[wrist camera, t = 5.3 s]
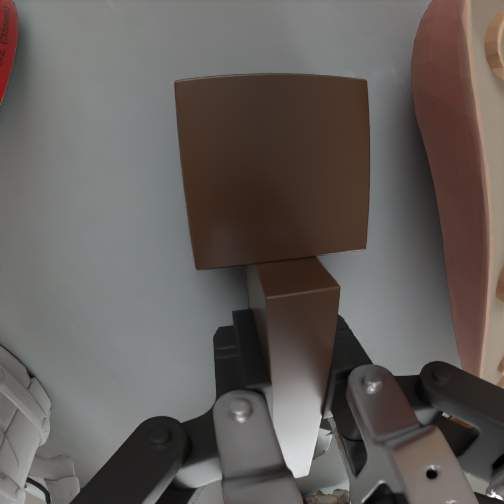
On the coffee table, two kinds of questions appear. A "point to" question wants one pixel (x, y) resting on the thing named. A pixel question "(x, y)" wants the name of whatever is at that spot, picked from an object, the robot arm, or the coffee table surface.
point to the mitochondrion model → (467, 165)
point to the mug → (28, 438)
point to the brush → (280, 219)
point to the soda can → (7, 42)
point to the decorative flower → (328, 498)
